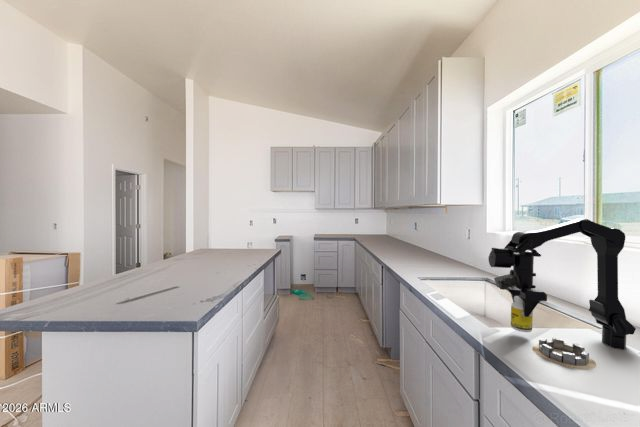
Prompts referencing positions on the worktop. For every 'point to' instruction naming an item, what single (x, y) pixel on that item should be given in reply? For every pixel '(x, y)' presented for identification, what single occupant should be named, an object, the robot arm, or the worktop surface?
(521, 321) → the pill bottle
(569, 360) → the castellated collar
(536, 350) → the flange plate
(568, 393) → the worktop surface
